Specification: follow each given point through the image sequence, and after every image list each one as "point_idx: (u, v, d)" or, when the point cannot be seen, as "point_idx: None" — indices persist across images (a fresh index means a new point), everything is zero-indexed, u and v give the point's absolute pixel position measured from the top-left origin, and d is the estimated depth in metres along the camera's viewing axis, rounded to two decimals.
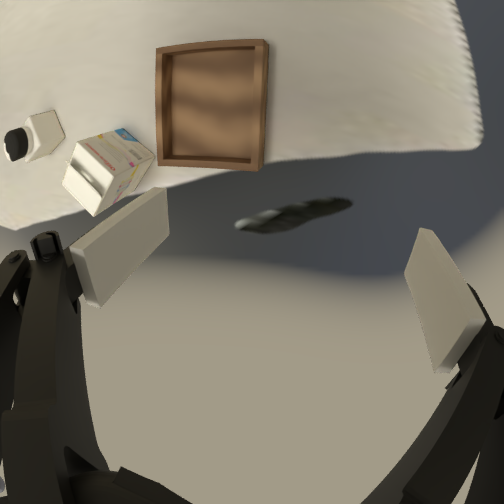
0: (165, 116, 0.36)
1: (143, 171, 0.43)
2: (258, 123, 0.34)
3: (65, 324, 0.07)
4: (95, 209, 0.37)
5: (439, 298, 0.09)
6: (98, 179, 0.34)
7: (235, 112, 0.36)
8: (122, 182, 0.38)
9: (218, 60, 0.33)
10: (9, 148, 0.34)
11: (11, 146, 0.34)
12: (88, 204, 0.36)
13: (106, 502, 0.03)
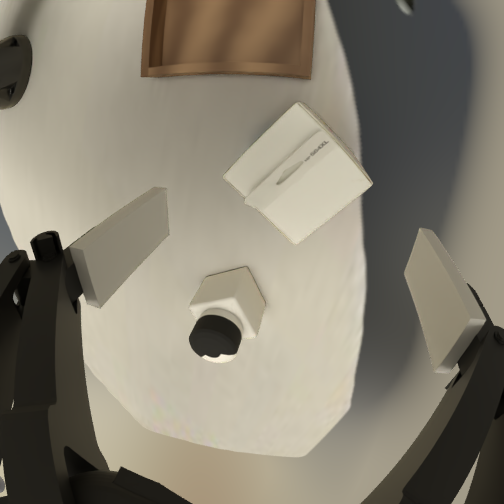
0: None
1: None
2: None
3: (65, 324, 0.07)
4: (358, 172, 0.19)
5: (439, 298, 0.09)
6: (300, 141, 0.19)
7: None
8: (324, 124, 0.22)
9: (176, 13, 0.23)
10: (212, 348, 0.32)
11: (209, 344, 0.32)
12: (346, 186, 0.20)
13: (106, 502, 0.03)
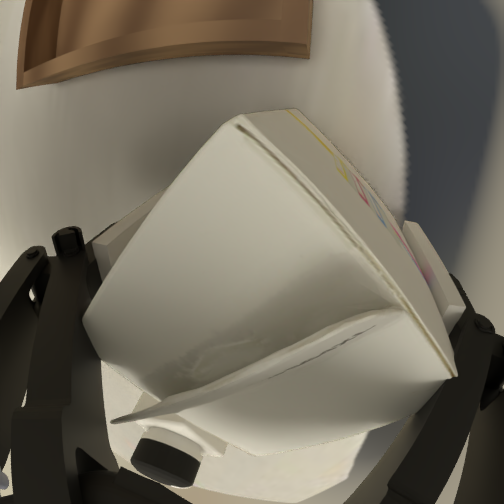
0: None
1: (335, 149, 0.13)
2: None
3: None
4: (439, 375, 0.05)
5: None
6: (252, 295, 0.05)
7: None
8: (348, 180, 0.07)
9: None
10: (159, 480, 0.18)
11: (154, 477, 0.17)
12: (392, 403, 0.06)
13: (106, 502, 0.03)
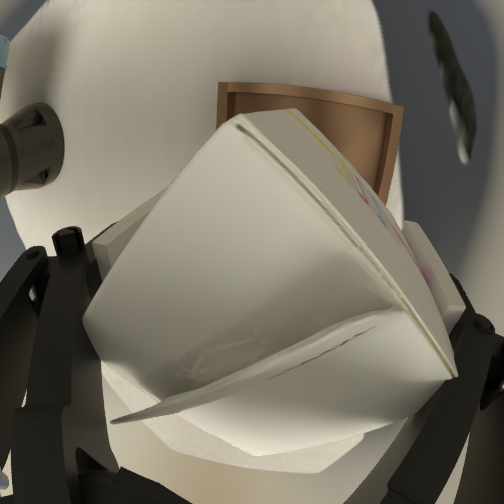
0: None
1: (335, 149, 0.13)
2: (338, 94, 0.23)
3: None
4: (439, 375, 0.05)
5: None
6: (252, 295, 0.05)
7: (321, 128, 0.27)
8: (348, 180, 0.07)
9: None
10: None
11: None
12: (392, 404, 0.06)
13: (106, 502, 0.03)
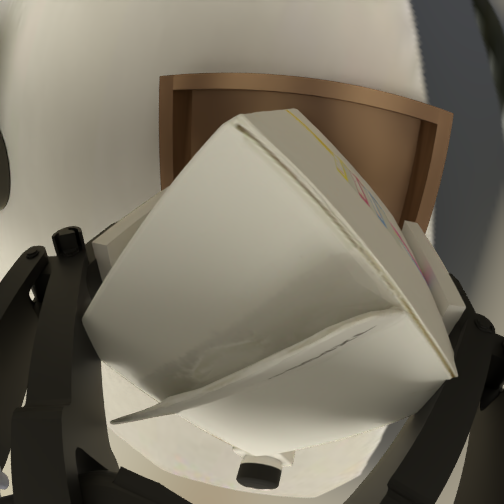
0: None
1: (335, 149, 0.13)
2: (351, 87, 0.13)
3: None
4: (439, 376, 0.05)
5: None
6: (252, 295, 0.05)
7: None
8: (348, 180, 0.07)
9: None
10: (258, 487, 0.29)
11: (256, 486, 0.29)
12: (392, 404, 0.06)
13: (106, 502, 0.03)
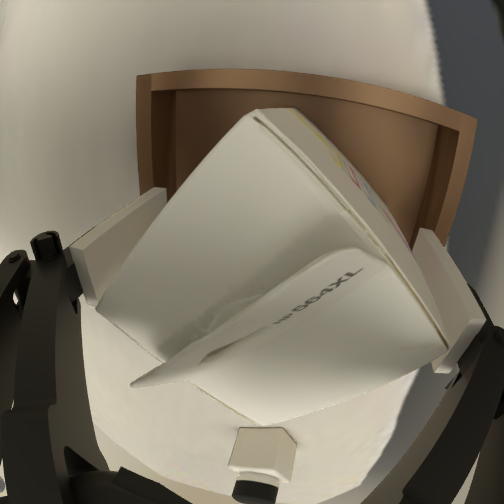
0: None
1: (332, 144, 0.14)
2: (360, 85, 0.11)
3: (65, 324, 0.07)
4: (426, 331, 0.06)
5: (439, 298, 0.09)
6: (263, 252, 0.06)
7: None
8: (342, 167, 0.09)
9: None
10: None
11: (252, 503, 0.26)
12: (386, 360, 0.07)
13: (106, 502, 0.03)
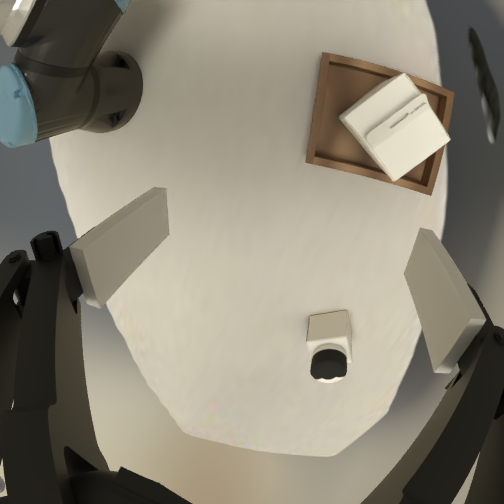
0: (383, 172, 0.34)
1: None
2: (411, 76, 0.26)
3: (65, 324, 0.07)
4: (442, 129, 0.22)
5: (439, 298, 0.09)
6: (405, 100, 0.21)
7: None
8: None
9: (334, 105, 0.33)
10: (331, 373, 0.42)
11: (330, 370, 0.41)
12: (433, 138, 0.22)
13: (106, 502, 0.03)
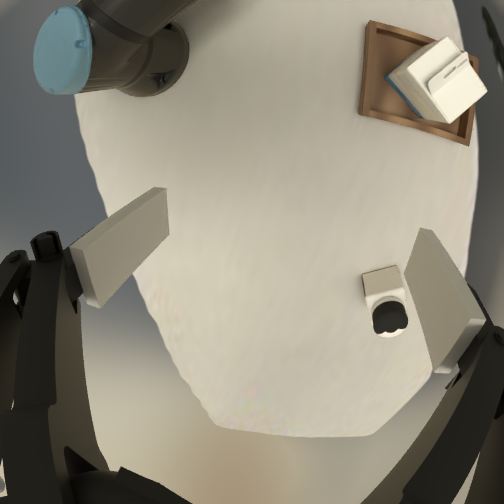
0: None
1: None
2: None
3: (65, 324, 0.07)
4: (480, 82, 0.20)
5: (439, 298, 0.09)
6: (451, 57, 0.20)
7: None
8: None
9: (380, 67, 0.32)
10: (394, 325, 0.41)
11: (394, 322, 0.40)
12: (475, 89, 0.21)
13: (106, 502, 0.03)
